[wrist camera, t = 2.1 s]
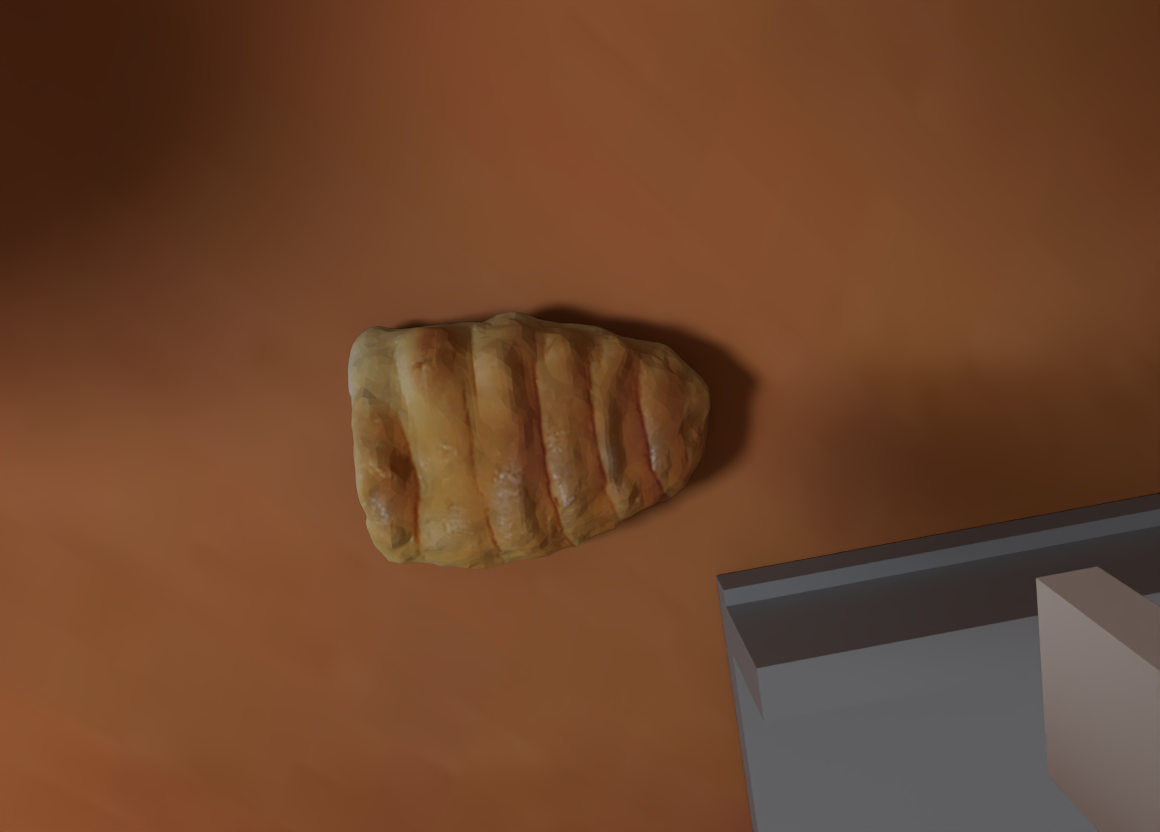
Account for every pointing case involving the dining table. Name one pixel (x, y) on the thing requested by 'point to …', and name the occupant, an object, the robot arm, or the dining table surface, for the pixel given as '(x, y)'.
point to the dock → (915, 675)
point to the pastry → (515, 436)
